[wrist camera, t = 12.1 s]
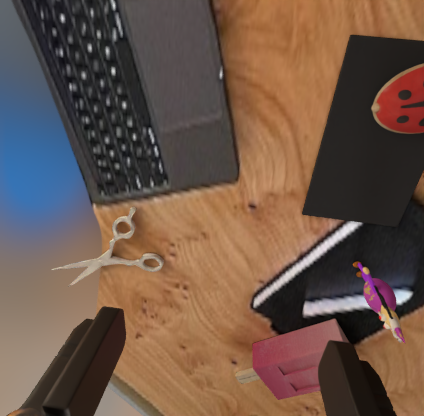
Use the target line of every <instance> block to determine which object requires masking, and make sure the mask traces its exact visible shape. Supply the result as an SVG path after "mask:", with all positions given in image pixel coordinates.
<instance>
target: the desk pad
mask: <svg viewBox="0 0 424 416" xmlns="http://www.w3.org/2000/svg"><path fill="white" fill-rule="evenodd" d="M420 64H424V41H417V40H406V39H394V38H383V37H371V36H360V35H350V39H349V42H348V46H347V50H346V53H345V57H344V61H343V64H342V68H341V72H340V75H339V79H338V83H337V87H336V90H335V94H334V98H333V101H332V105H331V109H330V112H329V116H328V120H327V124H326V127H325V131H324V135H323V138H322V142H321V146H320V149H319V153H318V157H317V160H316V164H315V168H314V172H313V175H312V179H311V183H310V186H309V190H308V194H307V197H306V201H305V205H304V208H303V212H302V215H309V216H316V217H324V218H332V219H339V220H347V221H354V222H362V223H370V224H377V225H385V226H393V227H398V224H399V222H400V220H401V218H402V216H403V214H404V211H405V209H406V207H407V205H408V203H409V201H410V199H411V196H412V194H413V192H414V190H415V188H416V186H417V183H418V181H419V179H420V177H421V175H422V173H423V170H424V132H423V133H414V134H405V133H397V132H393V131H390V130H387V129H385V128H383V127H382V126H380V125H379V124H378V123H377V122H376V120H375V118H374V116H373V111H372V109H371V108H372V105H373V103H374V100H375V98H376V96H377V94H378V92H379V91H380V90H381V89H382V87H383V86H384V85H385V84H386V83H387V82H388V81H390V80H391V79H392V78H394V77H395V76H396V75H398V74H400V73H401V72H403V71H405V70H407V69H409V68H412V67H414V66H417V65H420Z"/></svg>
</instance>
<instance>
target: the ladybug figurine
mask: <svg viewBox="0 0 424 416" xmlns="http://www.w3.org/2000/svg"><path fill="white" fill-rule="evenodd" d="M371 109H372V111H373V116H374V118H375V120H376V122H377V123H378V124H379V125H380V126H382V127H383V128H385V129H387V130H390V131H393V132H397V133H405V134H414V133H423V132H424V64H420V65H417V66H414V67H412V68H409V69H407V70H405V71H403V72H401V73H400V74H398V75H396V76H395V77H394V78H392V79H391V80H390V81H388V82H387V83H386V84H385V85H384V86H383V87H382V89H381V90H380V91H379V92H378V94H377V96H376V98H375V100H374V103H373V105H372V108H371Z"/></svg>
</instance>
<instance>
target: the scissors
mask: <svg viewBox="0 0 424 416" xmlns="http://www.w3.org/2000/svg"><path fill="white" fill-rule="evenodd" d="M136 209H137V208H136V207H135V206H133V207H132V208H131V209H130V213H129V215H128V216H127V217H126V216H123V217H119V218H118V219H117V220H115V221H114V222H113V226H112V230H113V233H114V239H112V240H111V241H110V242H109V244H110V248H109V250H108V251H106V252H105V253H104V254H103V255H101V256H100V257H99V258H96V259H91V260H86V261H82V262H77V263H74V264H70V265H66V266H62V267H58V268H56V269H67V268H76V267H87V266H89V267H88V268H87V269H86V270H85V271H84V272H83V273H82V274H81V275H80V276H79V277H77V278H76V279H75V280H74V281H73V282H72V283H71V284H70V285H69V286H71V285H72V284H74V283H76V282H77V281H79V280H81V279H82V278H84V277H86V276H87V275H89V274H91V273H92V272H94V271H95V270H97V269H98V268H100V267H101V266H106V265H111V264H120V263H122V264H126V265H128V266H131V265H137V266H139V267H141V268H142V269H144V270H147V271H150V272H155V271H158V270H160V269H161V267H162V265H163V262H164V261H163V259H162V258H161V256H159V255H157V254H153V253H146V254H143V256H142V258H141V259H140V260H134V261H132V260H126V259H122V258H119V257H116V256H112V252H113V248H114V243H115V241H117V240H118V239H120V238H126V239H129V238H130V237H131V236H132V235H133V233H134V231H135V223H134V221H133V220H132V216H133V213H134V212H135V211H136ZM122 221H124V222H127V223H129V225H130V227H131V230H130V232H128V233H121V232H120V231H119V230H118V228H117V225H118V223H119V222H122ZM146 259H156V260H157V261H158V262H159V264H160V265H159V266H157V267H150V266H147V265H146V264H145V263H144V260H146ZM56 269H53V270H56Z"/></svg>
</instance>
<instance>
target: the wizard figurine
mask: <svg viewBox="0 0 424 416" xmlns="http://www.w3.org/2000/svg"><path fill="white" fill-rule="evenodd" d="M353 266H354V267H359V268H360V270H361V271H359V272H357V274H356V275H357V276H358V277H363V279H364V280H365V282H366V283H365V285H364V296H365V299H366V301H367V303H368V305H369V306H370V307H371V308H372V309H373V310H374V311H375V312H377V313H379V315H380V316H378V318H379V319H381V321H385V323H384V326H383V328H386V329H390V330H391V331H392V333H393V336H394V337H395V338H397V340H398V341H399V342H402V341H403V342H404V343H405V340H404V338H403V335H402V330H401V326H400V322H399V319H398V316H397V315H396V313H395V312H394V310H395V308H396V297H395V294H394V292H393V290H392V289H391V287H390V286H389V285H388V284H387V283H385V282H384V281H382V280H380V279H377V278H372V277H371V275H370V273H369V269H368V268H366V267H363V266H362V263H361V262H359V261H357V262H354V263H353ZM405 344H406V343H405Z"/></svg>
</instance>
